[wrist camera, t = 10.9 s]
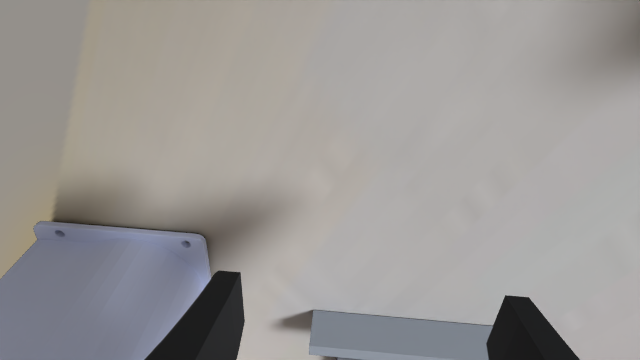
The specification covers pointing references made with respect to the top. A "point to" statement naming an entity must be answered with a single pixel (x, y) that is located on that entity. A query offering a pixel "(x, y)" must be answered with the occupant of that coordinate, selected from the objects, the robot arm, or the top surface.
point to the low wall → (395, 338)
